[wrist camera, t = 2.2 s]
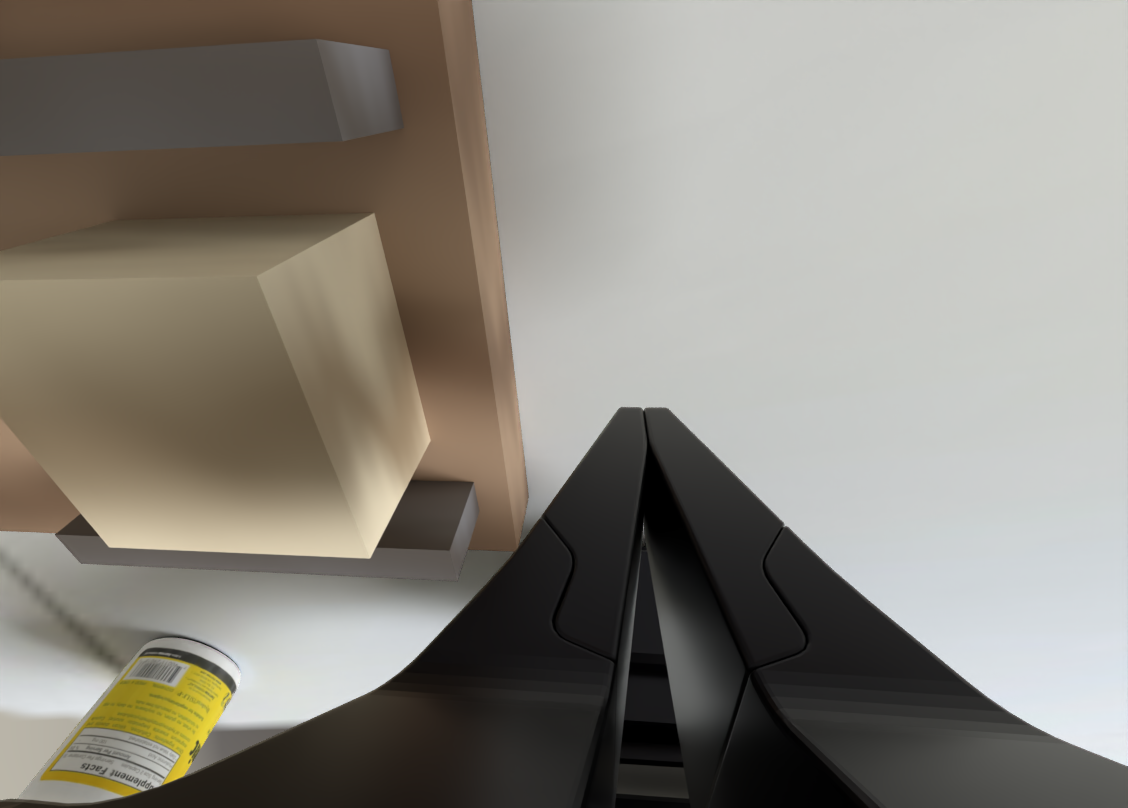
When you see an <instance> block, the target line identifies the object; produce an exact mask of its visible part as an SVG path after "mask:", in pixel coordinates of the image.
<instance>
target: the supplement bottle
mask: <svg viewBox="0 0 1128 808" xmlns="http://www.w3.org/2000/svg"><path fill="white" fill-rule="evenodd" d="M240 681H241V674H240V670H239V668H238V667H237V665H236V664H235V663H234V662H233V661H232V660H231V659H229V658H228V657H227V656H225V655H224V654H222V653H221V652H219V651H217V650H215V649H213V648H211V647H208V646H206V645H204V644H201V643H198V642H195V641H191V640H187V639H182V638H160V639H156V640H153V641H150V642H148V643H147V644H145V645H144V646H143V647H142V648H141V649H140V650H139V651H138V652H137V654H136V655H135V656H134V657H133V658H132V659H131V661H130V662H129V663H128V664H127V665H126V666H125V668H124V669H123V670H122V672H121V673H120V674H119V675H118V676H117V678H116V679H115V680H114V681H113V682H112V684H111V685H110V686H109V687H108V688H107V690H106V691H105V692H104V693H103V695H102V696H101V697H100V698H99V699H98V701H97V702H96V703H95V704H94V705H93V707H92V708H91V709H90V710H89V712H88V713H87V714H86V715H85V716H84V718H83V719H82V720H81V721H80V722H79V724H78V725H77V726H76V727H75V728H74V730H73V731H72V732H71V733H70V735H69V736H68V737H67V738H66V740H65V741H64V742H63V743H62V744H61V746H60V747H59V748H58V749H57V751H56V752H55V753H54V754H53V755H52V757H51V758H50V759H49V760H48V761H47V763H46V764H45V765H44V767H43V768H42V769H41V770H40V771H39V772H38V774H37V775H36V776H35V777H34V778H33V780H32V781H31V782H30V784H29V785H28V786H27V787H26V789H25V790H24V791H23V792H22V794H21V795H20V796H19V798H18V799H27V800H39V801H49V802H59V803H93V802H99V801H104V800H109V799H114V798H120V797H125V796H128V795H132V794H135V793H138V792H142V791H145V790H148V789H152V788H155V787H159V786H161V785H164V784H166V783H169V782H171V781H173V780H176V779H178V778H181V777H183V776H184V775H185V773H186V772H187V770H188V768H189V767H190V765H191V763H192V762H193V760H194V758H195V757H196V755H197V754H198V752H199V750H200V749H201V747H202V745H203V744H204V742H205V740H206V739H207V737H208V735H209V734H210V732H211V731H212V729H213V727H214V726H215V724H216V723H217V721H218V719H219V718H220V716H221V714H222V713H223V711H224V710H225V708H226V706H227V705H228V703H229V702H230V700H231V698H232V696H233V695H234V693H235V691H236V690H237V688H238V686H239V684H240Z"/></svg>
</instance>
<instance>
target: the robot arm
mask: <svg viewBox="0 0 1128 808" xmlns="http://www.w3.org/2000/svg"><path fill="white" fill-rule="evenodd" d="M643 523H644V534H645V541H646V547H642V535H643ZM0 808H1128V766H1125V765H1123V764H1120V763H1118V762H1115V761H1113V760H1110V759H1107V758H1105V757H1102V756H1100V755H1097V754H1095V753H1092V752H1090V751H1087V750H1085V749H1082V748H1080V747H1077V746H1075V745H1072V744H1070V743H1068V742H1065V741H1063V740H1061V739H1058V738H1056V737H1054V736H1052V735H1050V734H1048V733H1046V732H1044V731H1042V730H1040V729H1038V728H1036V727H1034V726H1032V725H1030V724H1028V723H1027V722H1025V721H1023V720H1022V719H1020V718H1018V717H1017V716H1015V715H1013V714H1012V713H1010V712H1008V711H1007V710H1006V709H1004V708H1003V707H1001V706H1000V705H998V704H997V703H995V702H994V701H992V700H991V699H989V698H988V697H987V696H985V695H984V694H983V693H982V692H980V691H979V690H978V689H976V688H975V687H974V686H972V685H971V684H970V683H969V682H967V681H966V680H965V679H964V678H962V677H961V676H960V675H959V674H958V673H956V672H955V671H954V670H953V669H951V668H950V667H949V666H948V665H947V664H945V663H944V662H943V661H942V660H941V659H939V658H938V657H937V656H936V655H934V654H933V653H932V652H931V651H930V650H928V649H927V648H926V647H925V646H924V645H922V644H921V643H920V642H919V641H917V640H916V639H915V638H914V637H913V636H911V635H910V634H909V633H908V632H906V631H905V630H904V629H903V628H902V627H900V626H899V625H898V624H897V623H896V622H894V621H893V620H892V619H891V618H889V617H888V616H887V615H886V614H885V613H883V612H882V611H881V610H880V609H878V608H877V607H876V606H875V605H874V604H872V603H871V602H870V601H869V600H868V599H866V598H865V597H864V596H863V595H862V594H861V593H859V592H858V591H857V590H856V589H855V588H854V587H852V586H851V585H850V584H849V583H848V582H847V581H845V580H844V579H843V578H842V577H841V576H840V575H838V574H837V573H836V572H835V571H834V570H833V569H832V568H831V567H829V566H828V565H827V564H826V563H825V562H824V561H823V560H822V559H821V558H820V557H819V556H818V555H817V554H816V553H815V552H813V551H812V550H811V549H810V548H809V547H808V546H807V545H806V544H805V543H804V542H803V541H802V540H801V539H800V538H799V537H798V536H797V535H796V534H795V533H794V532H793V531H792V530H791V529H790V528H789V527H787V526H785V527H784V523H783V522H782V521H781V520H780V519H779V518H778V517H777V516H776V515H775V514H774V513H773V512H772V511H771V510H770V509H769V508H768V507H767V506H766V505H765V504H764V503H763V502H762V501H761V500H760V499H759V498H758V497H757V496H756V495H755V494H754V493H753V492H752V491H751V490H750V489H749V488H748V487H747V486H746V485H745V484H744V483H743V482H742V481H741V480H740V479H739V478H738V477H737V476H736V475H735V474H734V473H733V472H732V471H731V470H730V469H729V468H728V467H727V466H726V465H725V464H724V463H723V462H722V461H721V460H720V459H719V458H718V457H717V456H716V455H715V454H714V453H713V452H712V451H711V450H710V449H709V448H708V447H706V446H705V445H704V444H703V443H702V442H701V441H700V440H699V439H698V438H697V437H696V436H695V435H694V434H693V433H692V432H691V431H690V430H689V429H688V428H687V427H686V426H685V425H684V424H683V423H682V422H681V421H680V420H679V419H678V418H677V417H676V416H675V415H674V414H673V413H672V412H671V411H670V410H669V409H667V408H645V409H644V411H643V410H642V408H639V407H621V408H619V409H618V410H617V412H616V413H615V414H614V416H613V417H612V419H611V420H610V421H609V423H608V424H607V426H606V427H605V428H604V430H603V431H602V433H601V434H600V435H599V437H598V438H597V439H596V441H595V442H594V444H593V445H592V446H591V448H590V449H589V451H588V452H587V453H586V455H585V456H584V458H583V459H582V460H581V462H580V463H579V464H578V466H577V467H576V469H575V470H574V471H573V473H572V474H571V476H570V477H569V478H568V480H567V481H566V483H565V484H564V485H563V487H562V488H561V489H560V491H559V492H558V494H557V495H556V496H555V498H554V499H553V501H552V502H551V503H550V505H549V506H548V508H547V509H546V510H545V512H544V513H543V514H542V516H541V518H540V519H539V520H538V521H537V522H536V524H535V525H534V527H533V528H532V529H531V531H530V532H529V534H528V535H527V536H526V538H525V539H524V540H523V541H522V543H521V544H520V545H519V547H518V548H517V549H516V550H515V552H514V553H513V554H512V556H511V557H510V558H509V559H508V560H507V561H506V563H505V564H504V565H503V566H502V567H501V568H500V569H499V570H498V572H497V573H496V574H495V575H494V576H493V577H492V578H491V579H490V580H489V582H488V583H487V584H486V585H485V586H484V587H483V588H482V589H481V590H480V591H479V592H478V593H477V594H476V595H475V596H474V598H473V599H472V600H471V601H470V602H469V603H468V604H467V605H466V606H465V607H464V608H463V609H462V610H461V611H460V612H459V613H458V614H457V616H456V617H455V618H454V619H453V620H452V621H451V622H450V623H449V624H448V625H447V626H446V627H445V628H444V629H443V630H442V631H441V632H440V634H439V635H438V636H437V637H436V638H435V639H434V640H433V641H432V642H431V643H430V644H429V645H428V646H427V647H426V648H425V649H424V650H423V651H422V652H421V653H420V654H419V655H418V656H417V657H416V658H415V659H414V660H413V661H412V662H411V663H410V664H409V665H408V666H407V667H405V668H404V669H403V670H402V671H401V672H400V673H398V674H397V675H396V676H394V677H393V678H392V679H390V680H389V681H387V682H386V683H385V684H383V685H381V686H380V687H378V688H377V689H375V690H373V691H371V692H369V693H367V694H365V695H363V696H361V697H359V698H356V699H354V700H352V701H350V702H348V703H345V704H343V705H341V706H339V707H336V708H334V709H332V710H330V711H328V712H325V713H323V714H321V715H319V716H317V717H314V718H312V719H310V720H308V721H306V722H303V723H301V724H299V725H297V726H295V727H292V728H290V729H288V730H286V731H284V732H281V733H279V734H277V735H275V736H273V737H271V738H268V739H266V740H264V741H262V742H259V743H257V744H255V745H253V746H251V747H248V748H246V749H244V750H242V751H240V752H237V753H235V754H233V755H231V756H228V757H226V758H224V759H222V760H220V761H217V762H215V763H213V764H211V765H209V766H206V767H204V768H202V769H200V770H198V771H195V772H194V773H191V774H188V775H186V776H183V777H181V778H178V779H176V780H173V781H171V782H169V783H166V784H164V785H161V786H159V787H155V788H152V789H148V790H145V791H142V792H138V793H135V794H132V795H128V796H125V797H120V798H114V799H109V800H104V801H99V802H93V803H59V802H49V801H39V800H27V799H6V800H0Z"/></svg>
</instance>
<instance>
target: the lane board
mask: <svg viewBox="0 0 1128 808" xmlns="http://www.w3.org/2000/svg"><path fill="white" fill-rule="evenodd" d="M350 213H374V214H375V218H376V222H377V226H378V230H379V234H380V238H381V242H382V246H383V250H384V254H385V258H386V262H387V266H388V270H389V274H390V278H391V282H392V286H393V291H394V295H395V299H396V303H397V307H398V311H399V315H400V319H401V323H402V327H403V331H404V335H405V339H406V343H407V347H408V351H409V355H410V359H411V363H412V367H413V371H414V376H415V380H416V384H417V388H418V392H419V396H420V400H421V404H422V408H423V412H424V416H425V420H426V424H427V428H428V432H429V436H430V440H431V441H430V443H429V445H428V447H427V449H426V451H425V453H424V454H423V456H422V458H421V460H420V462H419V464H418V466H417V468H416V470H415V472H414V474H413V476H412V478H411V480H410V482H409V484H408V486H407V488H406V490H405V492H404V493H403V495H402V497H401V499H400V501H399V503H398V505H397V507H396V509H395V511H394V513H393V515H392V517H391V519H390V521H389V523H388V525H387V527H386V529H385V531H384V532H383V534H382V536H381V538H380V540H379V542H378V544H377V546H376V548H375V550H374V552H373V554H372V556H371V558H370V559H367V558H344V557H321V556H297V555H274V554H251V553H228V552H204V551H181V550H158V549H135V548H111V547H108V545H107V544H106V543H105V542H104V541H103V539H102V538H101V537H100V536H99V535H98V533H97V532H96V531H95V530H94V529H93V527H92V526H91V525H90V524H89V523H88V521H87V520H86V519H85V518H84V517H83V516H82V514H81V513H80V512H79V511H78V510H77V508H76V507H75V506H74V505H73V504H72V502H71V501H70V500H69V499H68V498H67V496H66V495H65V494H64V493H63V492H62V490H61V489H60V488H59V487H58V486H57V484H56V483H55V482H54V481H53V480H52V479H51V477H50V476H49V475H48V474H47V473H46V471H45V470H44V469H43V468H42V467H41V465H40V464H39V463H38V462H37V461H36V459H35V458H34V457H33V456H32V455H31V453H30V452H29V451H28V450H27V449H26V447H25V446H24V445H23V444H22V443H21V442H20V440H19V439H18V438H17V437H16V436H15V434H14V433H13V432H12V431H11V430H10V428H9V427H8V426H7V425H6V424H5V422H4V421H3V420H2V419H1V418H0V531H18V532H43V533H56V534H55V535H56V537H57V538H58V539H59V540H60V541H61V542H62V543H63V544H64V545H65V546H66V548H67V549H68V550H69V551H70V552H71V553H72V554H73V555H74V556H75V557H76V559H77V560H78V561H79V562H80V563H81V564H102V565H123V566H145V567H166V568H188V569H209V570H230V571H252V572H273V573H294V574H316V575H337V576H358V577H380V578H401V579H422V580H444V581H458V578H459V575H460V572H461V569H462V566H463V562H464V559H465V556H466V553H467V550H489V551H513V552H515V550H516V549H517V548H518V547H519V542H520V537H521V532H522V527H523V522H524V517H525V513H526V508H527V503H528V498H529V495H528V486H527V477H526V469H525V460H524V451H523V443H522V434H521V425H520V417H519V408H518V399H517V391H516V382H515V373H514V365H513V356H512V347H511V339H510V330H509V321H508V313H507V304H506V295H505V287H504V278H503V269H502V260H501V252H500V243H499V234H498V226H497V217H496V208H495V200H494V191H493V182H492V174H491V165H490V156H489V148H488V139H487V130H486V122H485V113H484V104H483V96H482V87H481V78H480V70H479V61H478V52H477V43H476V35H475V26H474V17H473V9H472V0H0V251H3V250H6V249H10V248H14V247H17V246H21V245H25V244H28V243H32V242H36V241H39V240H43V239H47V238H50V237H54V236H58V235H61V234H65V233H69V232H72V231H76V230H80V229H83V228H87V227H91V226H94V225H98V224H102V223H105V222H109V221H113V220H139V219H174V218H209V217H245V216H280V215H315V214H350Z"/></svg>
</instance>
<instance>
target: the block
mask: <svg viewBox="0 0 1128 808" xmlns="http://www.w3.org/2000/svg"><path fill="white" fill-rule="evenodd" d="M0 418H1V419H2V420H3V421H4V422H5V424H6V425H7V426H8V427H9V428H10V430H11V431H12V432H13V433H14V434H15V436H16V437H17V438H18V439H19V440H20V442H21V443H22V444H23V445H24V446H25V447H26V449H27V450H28V451H29V452H30V453H31V455H32V456H33V457H34V458H35V459H36V461H37V462H38V463H39V464H40V465H41V467H42V468H43V469H44V470H45V471H46V473H47V474H48V475H49V476H50V477H51V479H52V480H53V481H54V482H55V483H56V484H57V486H58V487H59V488H60V489H61V490H62V492H63V493H64V494H65V495H66V496H67V498H68V499H69V500H70V501H71V502H72V504H73V505H74V506H75V507H76V508H77V510H78V511H79V512H80V513H81V514H82V516H83V517H84V518H85V519H86V520H87V521H88V523H89V524H90V525H91V526H92V527H93V529H94V530H95V531H96V532H97V533H98V535H99V536H100V537H101V538H102V539H103V541H104V542H105V543H106V544H107V545H108V547H111V548H135V549H158V550H181V551H204V552H228V553H251V554H274V555H297V556H321V557H344V558H367V559H370V558H371V556H372V554H373V552H374V550H375V548H376V546H377V544H378V542H379V540H380V538H381V536H382V534H383V532H384V531H385V529H386V527H387V525H388V523H389V521H390V519H391V517H392V515H393V513H394V511H395V509H396V507H397V505H398V503H399V501H400V499H401V497H402V495H403V493H404V492H405V490H406V488H407V486H408V484H409V482H410V480H411V478H412V476H413V474H414V472H415V470H416V468H417V466H418V464H419V462H420V460H421V458H422V456H423V454H424V453H425V451H426V449H427V447H428V445H429V443H430V441H431V440H430V436H429V432H428V428H427V424H426V420H425V416H424V412H423V408H422V404H421V400H420V396H419V392H418V388H417V384H416V380H415V376H414V371H413V367H412V363H411V359H410V355H409V351H408V347H407V343H406V339H405V335H404V331H403V327H402V323H401V319H400V315H399V311H398V307H397V303H396V299H395V295H394V291H393V286H392V282H391V278H390V274H389V270H388V266H387V262H386V258H385V254H384V250H383V246H382V242H381V238H380V234H379V230H378V226H377V222H376V218H375V214H374V213H350V214H315V215H280V216H245V217H209V218H174V219H139V220H113V221H109V222H105V223H102V224H98V225H94V226H91V227H87V228H83V229H80V230H76V231H72V232H69V233H65V234H61V235H58V236H54V237H50V238H47V239H43V240H39V241H36V242H32V243H28V244H25V245H21V246H17V247H14V248H10V249H6V250H3V251H0Z"/></svg>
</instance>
